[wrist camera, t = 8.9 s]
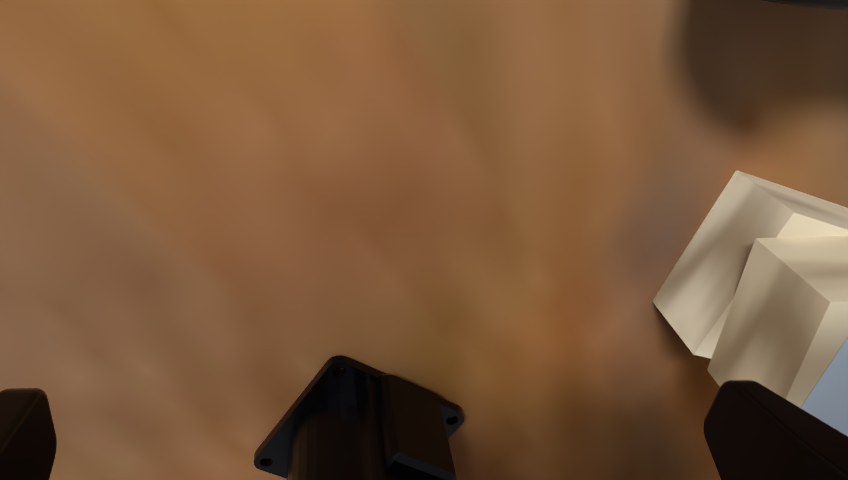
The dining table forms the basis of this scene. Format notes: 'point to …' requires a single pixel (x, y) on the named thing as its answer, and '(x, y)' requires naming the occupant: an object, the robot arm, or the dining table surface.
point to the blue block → (832, 393)
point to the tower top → (786, 315)
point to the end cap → (816, 3)
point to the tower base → (736, 252)
